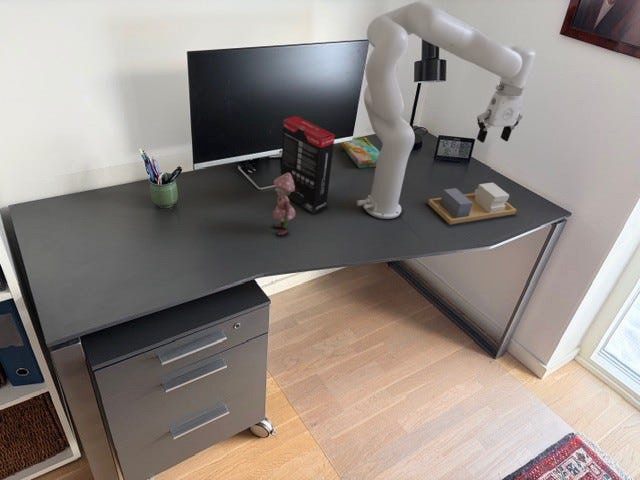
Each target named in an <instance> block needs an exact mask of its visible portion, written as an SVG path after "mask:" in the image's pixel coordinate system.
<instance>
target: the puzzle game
mask: <svg viewBox="0 0 640 480" xmlns="http://www.w3.org/2000/svg"><path fill="white" fill-rule="evenodd" d="M352 138H353V139H352V140H351V141H348V142H344V143H340V145H341V146H342V149H343V151H344V152H345V153H346V154H347V156H348V157H349V158H350V159H351V160H352V162H354V164H355V165H356V167H357V168H358V169H365V168H366V169H367V168H376V163H377V158H378V155H379V153H380V151H379V149H378V148H377V147H376V146H374V144H373V143H371V141H370V140H369V139H367V137H352Z"/></svg>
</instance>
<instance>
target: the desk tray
mask: <svg viewBox="0 0 640 480" xmlns="http://www.w3.org/2000/svg"><path fill="white" fill-rule="evenodd" d="M474 193H475V192H473V193H466V194H465V193H464V194H463V195H464V196H466V197H467V198H468V199H469V200H470V201H472V202H473V204H472V207H471V211H470V214H469V216H467V217H460V218H454V217H453V216H452V215H451V214H449V213H448V212H447V211H446V210H445V209H444V208H443V207H442V206H441V205H440V202H441V198H442V197H438V198H429V199H428V200H427V201H428V202H427V204H428V205H429V206H430V208H432V209H433V210H434V211H435V212H436V213H437V214H438V215H439V216H440V217H441V218H443V220H444V221H445V222H447V224H448V225H454V224H459V223H465V222H466V223H467V222H473V221H478V220H485V219H490V218H491V219H492V218H498V217H504V216H510V215H516V213H517V209H516V208H515V207H513V206H512V204H510V203H508V201H505V204H504V205H505V206H506V207H505V209H504V211H499V212H492V213H489V212H487V211H486V210H485V209H484V208H483V207H481V206H480V205H479V204H478V203H477V202H476V201H474V199H475V195H474Z"/></svg>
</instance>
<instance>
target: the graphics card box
mask: <svg viewBox="0 0 640 480" xmlns="http://www.w3.org/2000/svg"><path fill="white" fill-rule="evenodd" d="M282 126H283V127H282V146H281V147H282V148H281V168H280V176H282V175H283V174H286V173H290V174H291V176H292V178H293V181H294V185H295V190H294V191H293V192H291V193H290V194H289V195H287V197H288V198H289V200H291V201H293V203H295V204H297V205H299V206H301V207H302V208H303V209H305V210H307V211H309V212H310V213H312V214H316V213H318V212H320V211H322V210H325V209H326V208H327V205H328V195H329V187H330V180H331V171H332V164H333V163H332V162H333V153H334V145H335V138H336V134H334V133H333V132H330V131H329V130H326V129H325V128H322V127H321V126H319V125H316V124H314V123H312V122H310V121H309V120H306V119H304V118H301V117H300V116H295V115H294V116H291V117H287V118H284V119H283V125H282Z"/></svg>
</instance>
